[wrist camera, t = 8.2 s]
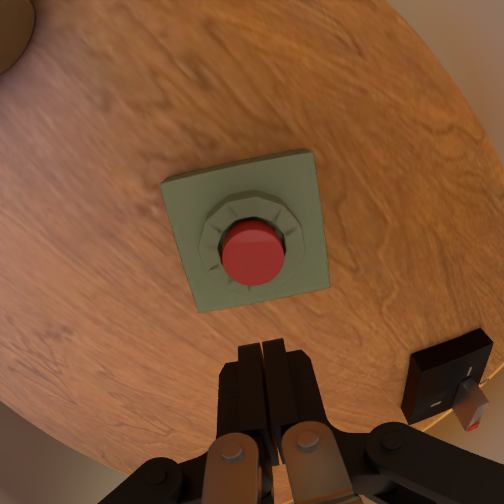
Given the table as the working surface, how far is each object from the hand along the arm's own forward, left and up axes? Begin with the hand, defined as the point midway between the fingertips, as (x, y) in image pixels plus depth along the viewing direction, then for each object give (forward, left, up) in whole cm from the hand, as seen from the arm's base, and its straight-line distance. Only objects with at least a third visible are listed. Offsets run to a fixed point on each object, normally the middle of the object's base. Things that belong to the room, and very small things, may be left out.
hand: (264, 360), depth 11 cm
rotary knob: (-21, +24, -11) cm, 34 cm away
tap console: (-20, +23, -14) cm, 33 cm away
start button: (0, 0, -10) cm, 10 cm away
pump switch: (0, 0, -14) cm, 14 cm away
